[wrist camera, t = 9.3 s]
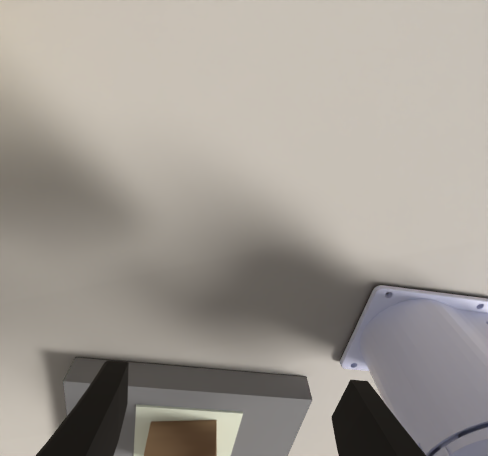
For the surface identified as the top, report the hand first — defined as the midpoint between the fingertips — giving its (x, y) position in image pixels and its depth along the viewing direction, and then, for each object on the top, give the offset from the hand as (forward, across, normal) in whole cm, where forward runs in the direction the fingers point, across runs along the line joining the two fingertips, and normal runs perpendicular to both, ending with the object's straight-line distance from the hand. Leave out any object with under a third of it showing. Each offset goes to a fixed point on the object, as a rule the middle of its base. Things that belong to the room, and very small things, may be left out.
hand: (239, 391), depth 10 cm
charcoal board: (+10, +1, +18) cm, 21 cm away
